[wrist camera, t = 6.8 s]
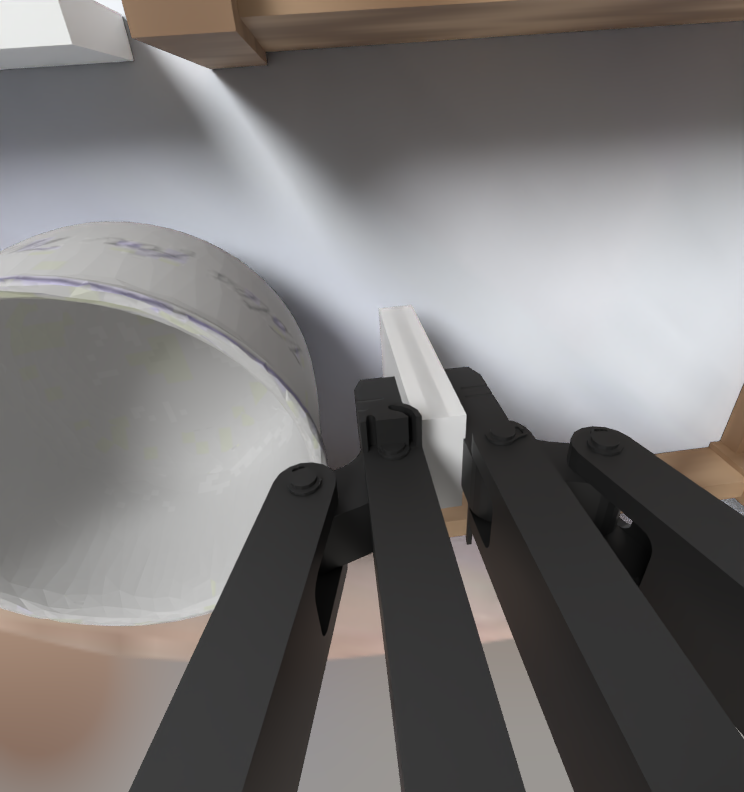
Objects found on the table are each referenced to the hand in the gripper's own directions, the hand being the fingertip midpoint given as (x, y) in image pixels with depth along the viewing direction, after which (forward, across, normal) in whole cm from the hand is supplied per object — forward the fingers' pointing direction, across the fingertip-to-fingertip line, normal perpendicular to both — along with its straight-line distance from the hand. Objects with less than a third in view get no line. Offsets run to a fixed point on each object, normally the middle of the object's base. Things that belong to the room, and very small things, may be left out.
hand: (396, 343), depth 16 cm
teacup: (+2, +10, 0) cm, 10 cm away
